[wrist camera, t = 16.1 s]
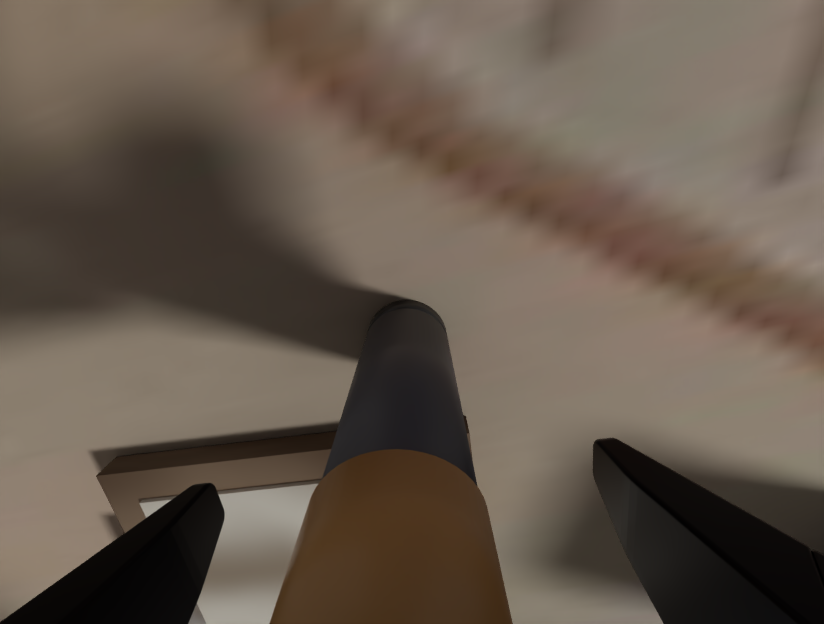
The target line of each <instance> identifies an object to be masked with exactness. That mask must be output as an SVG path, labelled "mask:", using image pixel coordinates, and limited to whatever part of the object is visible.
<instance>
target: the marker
mask: <svg viewBox="0 0 824 624" xmlns="http://www.w3.org/2000/svg"><path fill="white" fill-rule="evenodd" d="M269 624H513V623H512V619H511V614H510V609H509V605H508V600H507V596H506V591H505V587H504V582H503V577H502V573H501V568H500V564H499V559H498V554H497V550H496V545H495V541H494V536H493V532H492V527H491V522H490V518H489V513H488V509H487V505H486V502H485V499H484V497H483V495H482V493H481V492H480V490H479V488H478V487H477V482H476V477H475V472H474V467H473V462H472V457H471V452H470V447H469V442H468V437H467V432H466V427H465V422H464V417H463V412H462V407H461V402H460V398H459V393H458V388H457V383H456V378H455V373H454V368H453V363H452V358H451V353H450V348H449V343H448V338H447V333H446V328H445V325H444V323H443V321H442V319H441V318H440V316H439V315H438V314H437V313H436V312H435V311H434V310H433V309H432V308H430V307H429V306H427V305H425V304H423V303H420V302H417V301H410V300H403V301H397V302H394V303H391V304H389V305H387V306H385V307H383V308H382V309H381V310H380V311H379V312H378V313H377V314H376V315H375V316H374V318H373V319H372V321H371V323H370V326H369V329H368V332H367V335H366V339H365V342H364V345H363V348H362V352H361V355H360V358H359V361H358V364H357V368H356V371H355V374H354V377H353V381H352V384H351V387H350V390H349V393H348V397H347V400H346V403H345V406H344V410H343V413H342V416H341V419H340V423H339V426H338V429H337V432H336V435H335V439H334V442H333V445H332V448H331V452H330V455H329V458H328V461H327V464H326V468H325V471H324V474H323V477H322V480H321V481H320V482H319V484H318V485H317V486H316V488H315V490H314V492H313V494H312V496H311V498H310V501H309V504H308V507H307V510H306V513H305V516H304V519H303V522H302V526H301V529H300V532H299V535H298V538H297V541H296V544H295V547H294V550H293V553H292V556H291V559H290V562H289V565H288V568H287V571H286V574H285V577H284V581H283V584H282V587H281V590H280V593H279V596H278V599H277V602H276V605H275V608H274V611H273V614H272V617H271V620H270V623H269Z"/></svg>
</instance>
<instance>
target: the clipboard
mask: <svg viewBox="0 0 824 624" xmlns="http://www.w3.org/2000/svg"><path fill="white" fill-rule="evenodd" d="M463 417H464V422H465V427H466V432H467V437H468V442H469V447H470V452H471V443H470V434H469V429H468V424H467V420H466V416H463ZM336 432H337V431H334V432H326V433H317V434H308V435H300V436H291V437H283V438H274V439H266V440H257V441H248V442H240V443H231V444H223V445H214V446H206V447H197V448H189V449H180V450H171V451H163V452H154V453H146V454H137V455H129V456H120V457H116V458H115V459H114V460H113V461H112V462H110V463H109V464H108V465H107V466H106V467H105V468H104V469H103V470H102V471H101V472H100V473H99V474H98V475H97V476H96V477H97V479H98V481H99V483H100V485H101V487H102V489H103V491H104V493H105V495H106V497H107V499H108V501H109V503H110V505H111V507H112V509H113V511H114V512H115V514H116V516H117V518H118V520H119V522H120V524H121V526H122V528H123V530H124V532H125V533H126V532H127V531H129V530H130V529H131V528H133V527H134V526H136V525H137V524H138V523H140V522H141V521H143V520H144V519H145V518H147V517H148V516H150V515H151V514H152V513H154V512H155V511H157V510H158V509H159V508H161V507H162V506H164V505H165V504H166V503H168V502H169V501H171V500H172V499H173V498H175V497H176V496H178V495H179V494H180V493H182V492H183V491H185V490H186V489H187V488H189V487H190V486H192V485H194V484H200V483H212V484H214V485H215V487H216V490H217V492H218V495H219V497H220V500H221V503H222V505H223V508H224V512H225V518H224V523H223V526H222V529H221V533H220V536H219V539H218V542H217V545H216V548H215V551H214V554H213V558H212V561H211V564H210V567H209V570H208V573H207V576H206V580H205V583H204V585H203V588H202V591H201V594H200V597H199V599H198V602H197V604H196V607H195V609H194V612H193V614H192V616H191V619H190V621H189V624H269V623H270V620H271V617H272V614H273V611H274V608H275V605H276V602H277V599H278V596H279V593H280V590H281V587H282V584H283V581H284V577H285V574H286V571H287V568H288V565H289V562H290V559H291V556H292V553H293V550H294V547H295V544H296V541H297V538H298V535H299V532H300V529H301V526H302V522H303V519H304V516H305V513H306V510H307V507H308V504H309V501H310V498H311V496H312V494H313V492H314V490H315V488H316V486H317V485H318V484H319V482H320V481H321V480H322V477H323V474H324V471H325V468H326V464H327V461H328V458H329V455H330V452H331V448H332V445H333V442H334V439H335V435H336ZM471 457H472V452H471ZM472 462H473V461H472Z"/></svg>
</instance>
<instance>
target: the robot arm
mask: <svg viewBox="0 0 824 624" xmlns="http://www.w3.org/2000/svg"><path fill="white" fill-rule="evenodd" d="M593 475H594V479H595V482H596V485H597V487H598V490H599V492H600V494H601V497H602V499H603V501H604V504H605V506H606V508H607V511H608V513H609V516H610V518H611V520H612V523H613V525H614V527H615V530H616V532H617V534H618V537H619V539H620V542H621V544H622V546H623V548H624V550H625V553H626V555H627V557H628V559H629V561H630V563H631V564H632V566H633V568H634V570H635V572H636V574H637V576H638V577H639V579H640V581H641V583H642V585H643V587H644V588H645V590H646V592H647V594H648V596H649V598H650V599H651V601H652V603H653V605H654V607H655V609H656V610H657V612H658V614H659V616H660V618H661V620H662V621H663V623H664V624H824V555H823V554H821V553H819V552H818V551H815V550H813V551H811V549H810V548H809V547H808V546H807V545H805V544H803V543H801V542H799V541H798V540H796V539H794V538H792V537H791V536H789V535H787V534H785V533H783V532H782V531H780V530H778V529H776V528H775V527H773V526H771V525H769V524H767V523H766V522H764V521H762V520H760V519H758V518H757V517H755V516H753V515H751V514H750V513H748V512H746V511H744V510H742V509H741V508H739V507H737V506H735V505H734V504H732V503H730V502H728V501H726V500H725V499H723V498H721V497H719V496H717V495H716V494H714V493H712V492H710V491H709V490H707V489H705V488H703V487H701V486H700V485H698V484H696V483H694V482H693V481H691V480H689V479H687V478H685V477H684V476H682V475H680V474H678V473H676V472H675V471H673V470H671V469H669V468H668V467H666V466H664V465H662V464H660V463H659V462H657V461H655V460H653V459H652V458H650V457H648V456H646V455H644V454H643V453H641V452H639V451H637V450H635V449H634V448H632V447H630V446H628V445H627V444H625V443H623V442H621V441H619V440H618V439H615V438H606V439H597V440H596V441H595V442H594V444H593ZM224 518H225V512H224V508H223V505H222V503H221V500H220V497H219V495H218V492H217V490H216V487H215V485H214V484H212V483H200V484H194V485H192V486H190V487H189V488H187V489H186V490H185V491H183V492H182V493H180V494H179V495H178V496H176V497H175V498H173V499H172V500H171V501H169V502H168V503H166V504H165V505H164V506H162V507H161V508H159V509H158V510H157V511H155V512H154V513H152V514H151V515H150V516H148V517H147V518H145V519H144V520H143V521H141V522H140V523H138V524H137V525H136V526H134V527H133V528H131V529H130V530H129V531H127V532H126V533H124V534H123V535H122V536H120V537H119V538H117V539H116V540H115V541H113V542H112V543H110V544H109V545H108V546H106V547H105V548H103V549H102V550H101V551H99V552H98V553H96V554H95V555H94V556H92V557H91V558H89V559H88V560H87V561H85V562H84V563H82V564H81V565H80V566H78V567H77V568H75V569H74V570H73V571H71V572H70V573H68V574H67V575H66V576H64V577H63V578H61V579H60V580H59V581H57V582H56V583H54V584H53V585H52V586H50V587H49V588H47V589H46V590H44V591H43V592H42V593H40V594H39V595H37V596H36V597H35V598H33V599H32V600H30V601H29V602H28V603H26V604H25V605H23V606H22V607H21V608H19V609H18V610H16V611H15V612H14V613H12V614H11V615H9V616H8V617H7V618H5V619H4V620H2V621H1V622H0V624H189V621H190V619H191V616H192V614H193V612H194V609H195V607H196V604H197V602H198V599H199V597H200V594H201V591H202V588H203V585H204V583H205V580H206V576H207V573H208V570H209V567H210V564H211V561H212V558H213V554H214V551H215V548H216V545H217V542H218V539H219V536H220V533H221V529H222V526H223V523H224Z"/></svg>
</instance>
